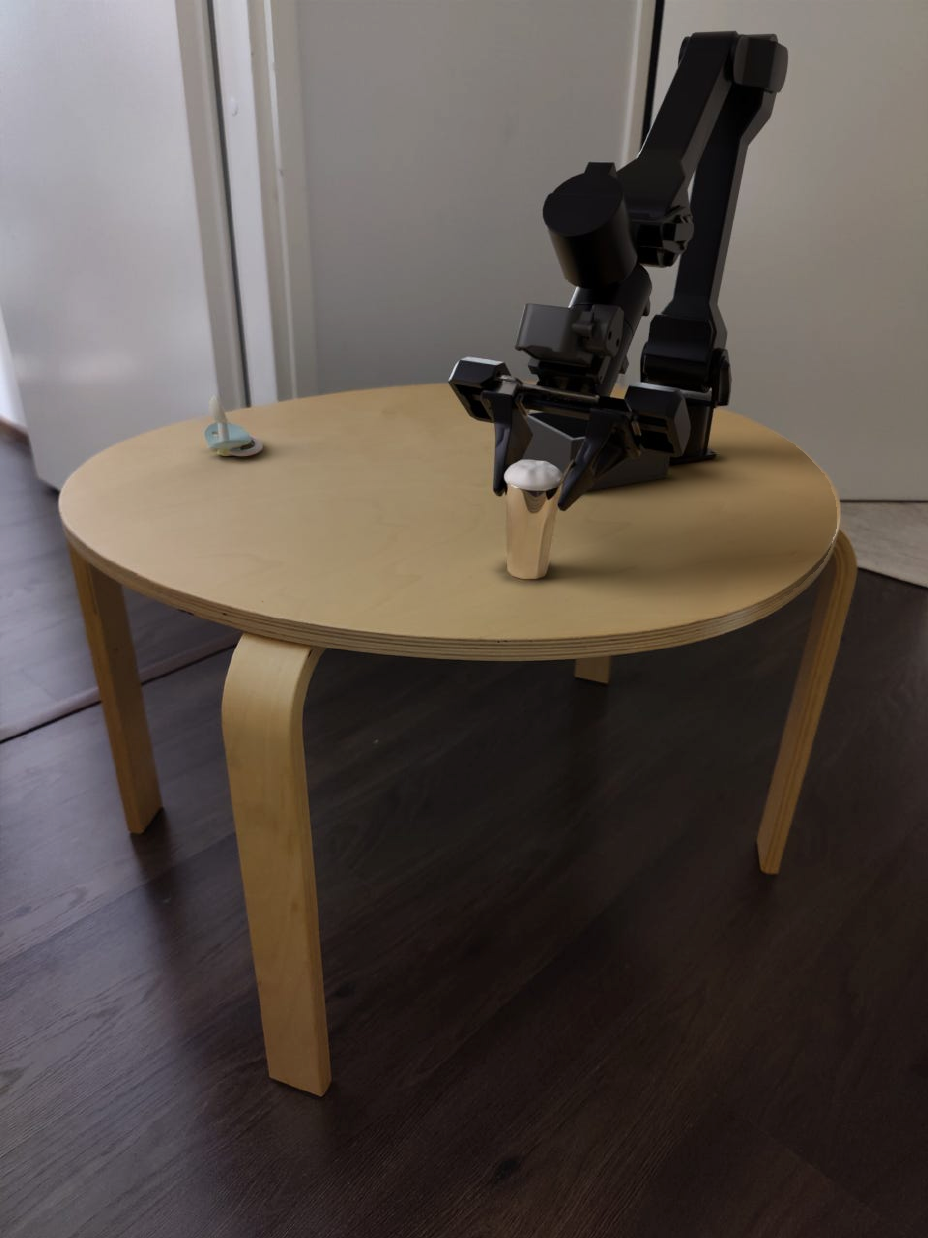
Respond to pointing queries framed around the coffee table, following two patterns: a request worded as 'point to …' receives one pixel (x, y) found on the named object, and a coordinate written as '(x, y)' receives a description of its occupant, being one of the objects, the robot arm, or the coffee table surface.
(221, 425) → the pacifier
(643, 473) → the bin
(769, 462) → the coffee table surface
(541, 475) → the milkshake
